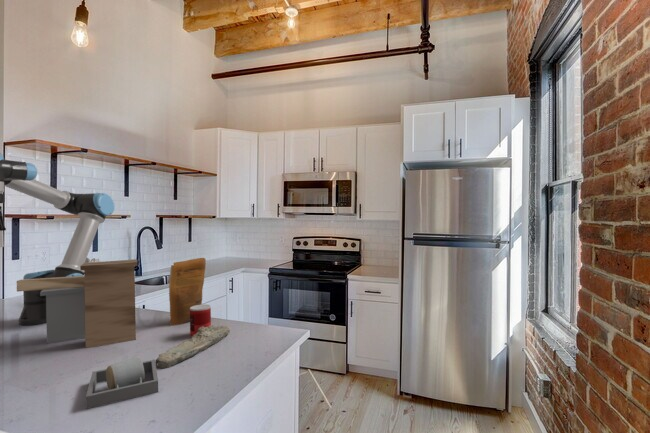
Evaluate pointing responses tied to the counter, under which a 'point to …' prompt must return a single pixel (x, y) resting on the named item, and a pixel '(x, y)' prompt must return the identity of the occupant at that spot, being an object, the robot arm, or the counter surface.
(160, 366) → the long grey stone
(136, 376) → the white cylinder
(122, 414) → the counter surface
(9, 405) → the counter surface
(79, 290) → the tall grey box
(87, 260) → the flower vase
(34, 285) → the oak beam
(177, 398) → the counter surface
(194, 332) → the canned food
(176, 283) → the pancake mix bag
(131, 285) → the walnut pedestal
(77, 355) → the counter surface
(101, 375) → the frame
